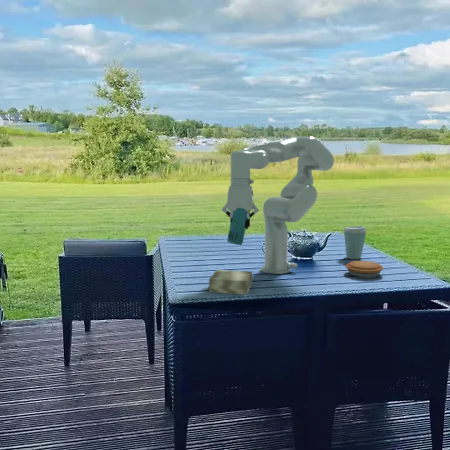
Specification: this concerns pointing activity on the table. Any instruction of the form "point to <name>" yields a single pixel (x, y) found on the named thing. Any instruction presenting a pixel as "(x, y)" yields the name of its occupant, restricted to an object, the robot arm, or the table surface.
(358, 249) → the disposable coffee cup
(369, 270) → the pie
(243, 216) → the beverage bottle
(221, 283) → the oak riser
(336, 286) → the table surface
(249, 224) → the robot arm
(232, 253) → the table surface
